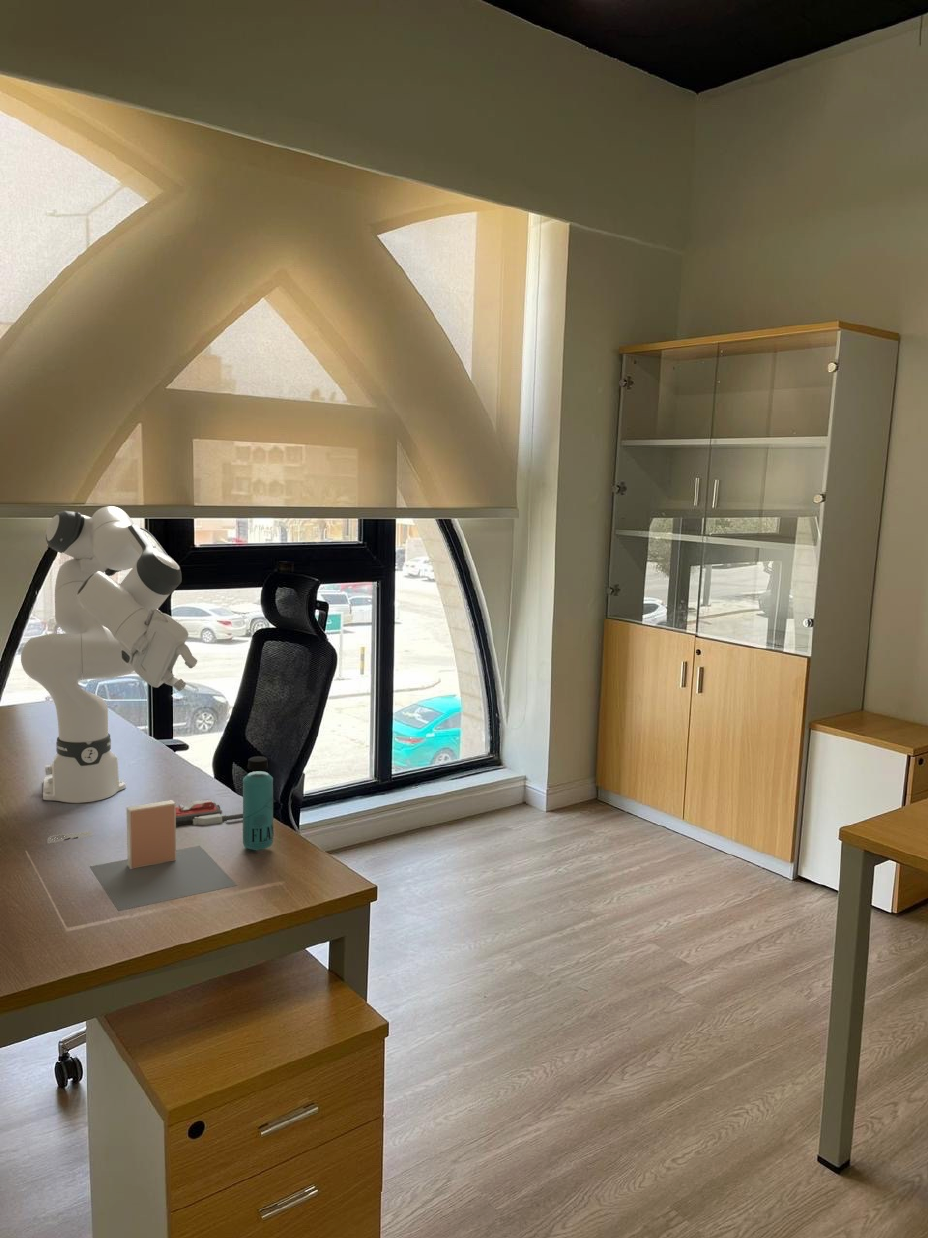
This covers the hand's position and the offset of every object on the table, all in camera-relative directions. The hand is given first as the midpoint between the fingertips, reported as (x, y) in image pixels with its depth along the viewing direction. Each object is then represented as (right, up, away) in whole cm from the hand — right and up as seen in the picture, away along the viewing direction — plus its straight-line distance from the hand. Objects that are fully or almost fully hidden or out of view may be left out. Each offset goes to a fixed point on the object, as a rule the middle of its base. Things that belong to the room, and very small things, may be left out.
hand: (188, 676), depth 204 cm
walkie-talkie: (0, -34, +15) cm, 37 cm away
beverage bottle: (+15, -36, -2) cm, 39 cm away
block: (-4, -36, -11) cm, 38 cm away
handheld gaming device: (-24, -36, -3) cm, 43 cm away
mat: (0, -38, -16) cm, 41 cm away
